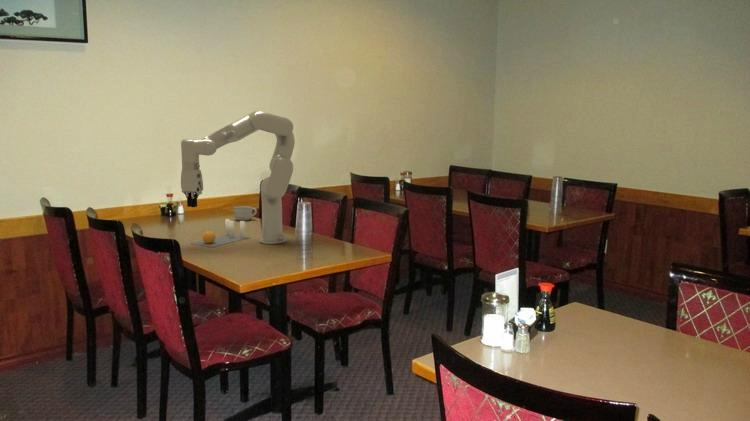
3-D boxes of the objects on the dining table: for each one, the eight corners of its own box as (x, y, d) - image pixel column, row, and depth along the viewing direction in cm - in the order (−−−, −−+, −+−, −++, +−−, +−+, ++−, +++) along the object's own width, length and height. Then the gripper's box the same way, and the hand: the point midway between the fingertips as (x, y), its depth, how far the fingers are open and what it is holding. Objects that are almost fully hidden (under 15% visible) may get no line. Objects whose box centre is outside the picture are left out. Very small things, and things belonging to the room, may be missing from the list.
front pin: (235, 237, 293) (234, 221, 292) (231, 238, 291) (231, 221, 290) (231, 237, 294) (231, 220, 293) (228, 238, 292) (227, 221, 291)
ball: (218, 243, 281) (218, 230, 280) (209, 245, 276) (208, 232, 275) (209, 241, 284) (209, 229, 283) (199, 243, 279) (199, 231, 278)
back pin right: (231, 235, 298) (231, 219, 296) (228, 236, 296) (227, 220, 294) (228, 235, 299) (227, 218, 297) (224, 236, 297) (224, 219, 295)
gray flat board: (250, 237, 294) (250, 237, 294) (212, 247, 272) (212, 246, 272) (230, 234, 301) (230, 234, 301) (190, 243, 279) (190, 243, 279)
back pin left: (246, 238, 293) (245, 221, 291) (242, 239, 291) (242, 222, 289) (242, 237, 294) (242, 220, 292) (239, 238, 292) (238, 221, 290)
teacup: (230, 220, 339) (229, 207, 338) (242, 217, 349) (242, 204, 347) (248, 223, 333) (248, 209, 331) (261, 220, 342) (260, 206, 341)
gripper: (209, 167, 265) (210, 207, 268) (185, 165, 273) (186, 204, 276) (196, 168, 258) (198, 209, 261) (172, 166, 266) (173, 206, 269)
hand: (192, 206), depth 269 cm, fingers closed
